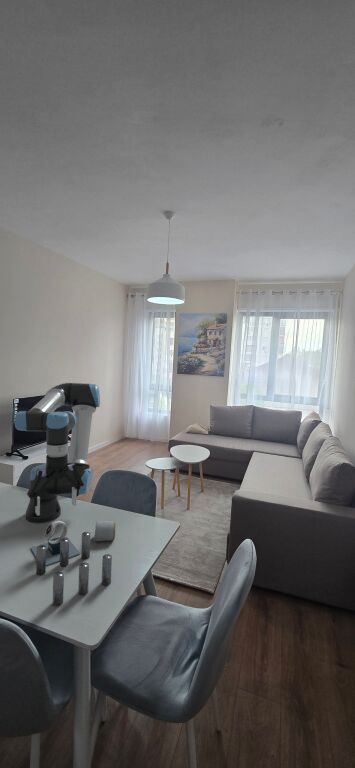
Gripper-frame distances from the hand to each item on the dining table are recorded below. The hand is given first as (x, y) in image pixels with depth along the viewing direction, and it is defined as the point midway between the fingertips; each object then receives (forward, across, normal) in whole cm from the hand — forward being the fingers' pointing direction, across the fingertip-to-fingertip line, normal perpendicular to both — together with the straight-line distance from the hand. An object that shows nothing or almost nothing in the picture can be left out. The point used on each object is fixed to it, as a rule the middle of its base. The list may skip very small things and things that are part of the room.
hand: (56, 509), depth 126 cm
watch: (+16, 0, 0) cm, 16 cm away
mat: (+16, 0, -1) cm, 17 cm away
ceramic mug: (+17, +19, -2) cm, 26 cm away
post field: (+16, 0, -19) cm, 25 cm away
